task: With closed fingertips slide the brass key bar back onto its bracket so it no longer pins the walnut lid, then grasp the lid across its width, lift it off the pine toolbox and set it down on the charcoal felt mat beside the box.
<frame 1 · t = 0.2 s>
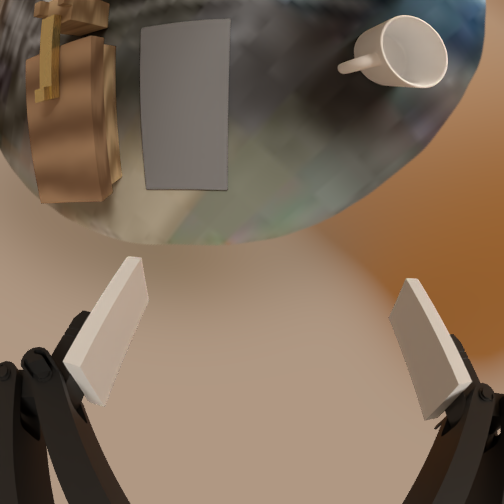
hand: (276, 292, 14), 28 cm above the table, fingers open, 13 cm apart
mug: (368, 60, 30), on the table
toolbox: (93, 114, 34), on the table
lid: (70, 121, 29), point 6 cm above the table, touching toolbox
key: (46, 57, 21), point 11 cm above the table, slide at 0.0 cm
felt mat: (183, 104, 34), on the table
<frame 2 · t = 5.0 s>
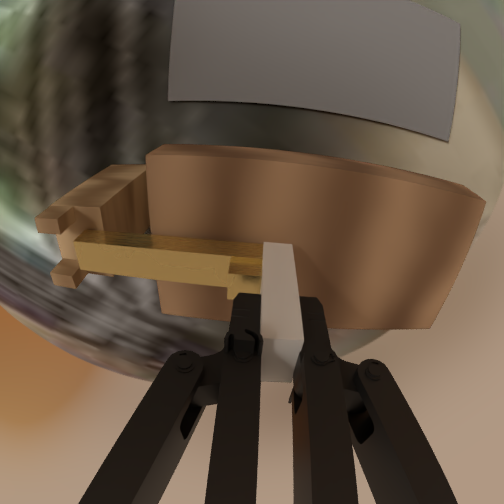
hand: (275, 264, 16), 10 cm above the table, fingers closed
toolbox: (308, 203, 24), on the table
lid: (318, 236, 19), point 6 cm above the table, touching toolbox
key: (159, 263, 15), point 11 cm above the table, slide at 0.3 cm, touching gripper
felt mat: (328, 40, 17), on the table
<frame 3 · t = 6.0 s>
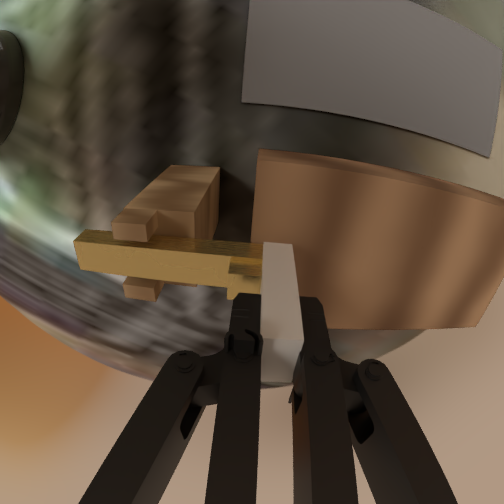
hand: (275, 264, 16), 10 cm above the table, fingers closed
toolbox: (370, 211, 24), on the table
lid: (394, 245, 19), point 6 cm above the table, touching toolbox
key: (159, 263, 15), point 11 cm above the table, slide at 6.1 cm, touching gripper
felt mat: (397, 58, 17), on the table
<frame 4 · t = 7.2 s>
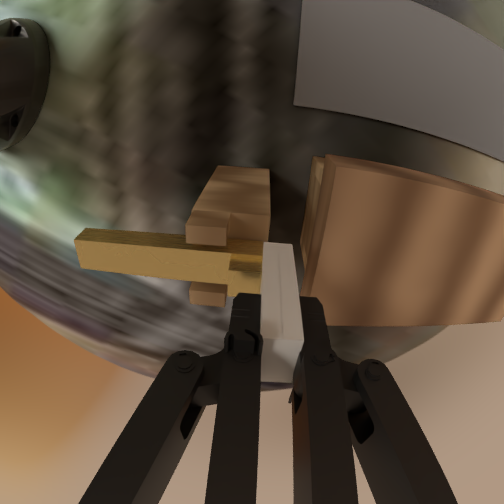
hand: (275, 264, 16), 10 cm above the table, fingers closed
toolbox: (407, 214, 25), on the table
lid: (436, 247, 19), point 6 cm above the table, touching toolbox
key: (159, 261, 15), point 11 cm above the table, slide at 10.2 cm, touching gripper
felt mat: (435, 70, 17), on the table
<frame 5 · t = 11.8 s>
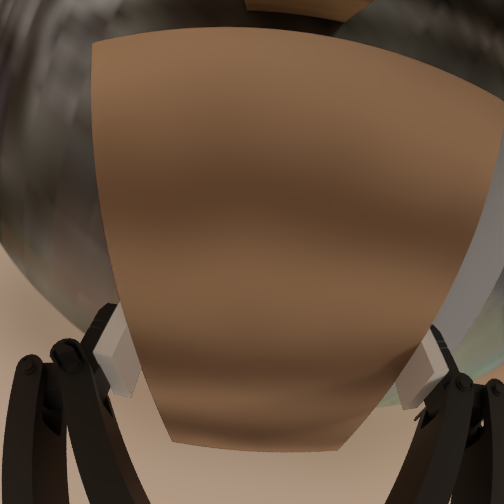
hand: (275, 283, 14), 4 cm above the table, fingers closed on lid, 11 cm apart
toolbox: (274, 242, 18), on the table
lid: (276, 310, 13), point 6 cm above the table, touching gripper, toolbox
felt mat: (457, 259, 18), on the table
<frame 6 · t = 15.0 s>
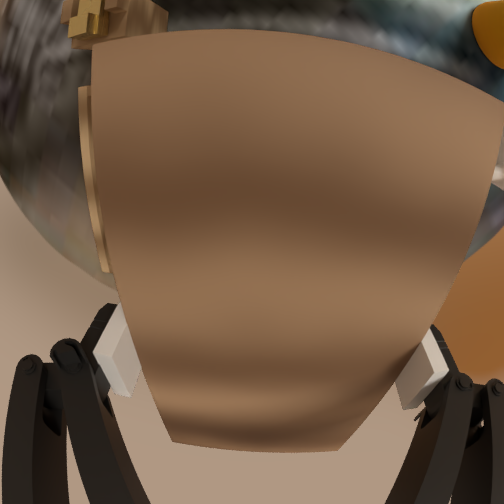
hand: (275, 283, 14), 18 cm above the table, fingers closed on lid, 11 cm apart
mug: (472, 144, 26), on the table
toolbox: (143, 169, 30), on the table
lid: (276, 310, 13), point 20 cm above the table, touching gripper
beer bottle: (494, 36, 17), on the table
when the fingers open (1 cm above the table, at t = 18.6 s): lid drops 2 cm, resting on felt mat.
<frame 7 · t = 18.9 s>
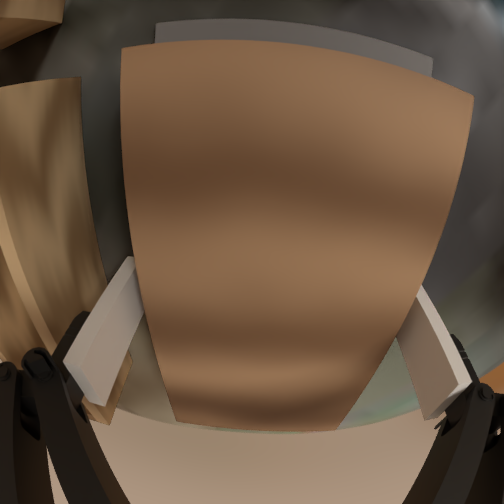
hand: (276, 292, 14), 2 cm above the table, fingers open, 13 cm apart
toolbox: (51, 250, 15), on the table
lid: (275, 286, 14), point 1 cm above the table, touching felt mat
felt mat: (275, 271, 15), on the table
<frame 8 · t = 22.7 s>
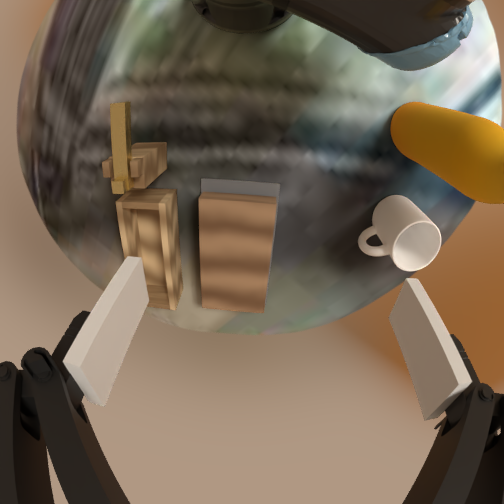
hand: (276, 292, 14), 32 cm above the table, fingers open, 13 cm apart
mug: (382, 218, 46), on the table
toolbox: (158, 242, 50), on the table
lid: (236, 252, 49), point 1 cm above the table, touching felt mat
key: (119, 147, 31), point 11 cm above the table, slide at 10.2 cm
felt mat: (237, 248, 50), on the table
beer bottle: (413, 129, 37), on the table
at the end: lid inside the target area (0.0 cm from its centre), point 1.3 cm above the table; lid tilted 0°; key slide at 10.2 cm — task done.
